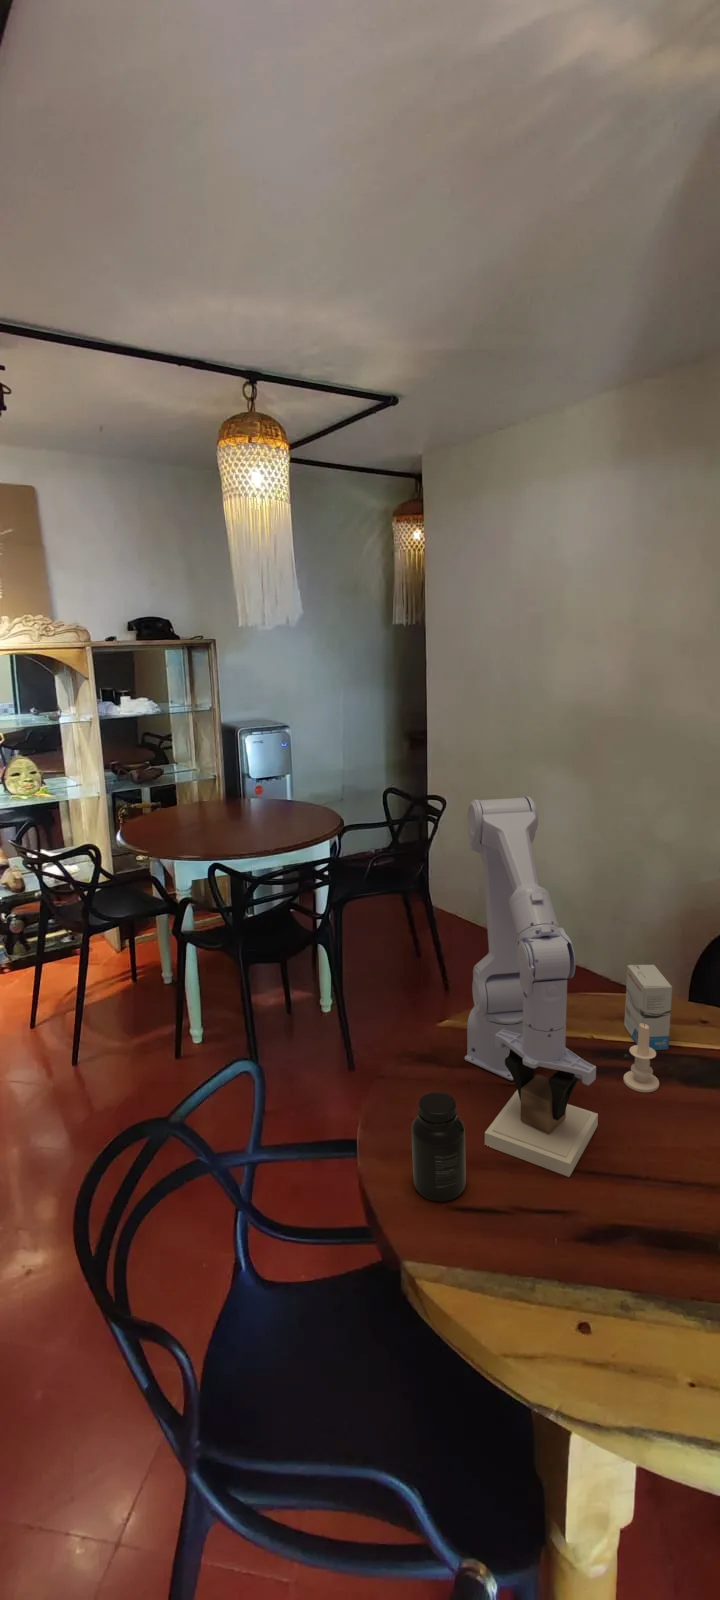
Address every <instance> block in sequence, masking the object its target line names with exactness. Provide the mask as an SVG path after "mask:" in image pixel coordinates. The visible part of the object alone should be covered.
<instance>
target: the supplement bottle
mask: <svg viewBox="0 0 720 1600" xmlns="http://www.w3.org/2000/svg"><path fill="white" fill-rule="evenodd" d="M417 1110H418V1111H417V1116H416V1117H415V1118H414V1119H413V1122H412V1123H411V1150H412V1152H411V1153H412V1154H411V1157H412V1176H413V1185H414V1188H415V1190H416V1191H417V1192H418V1194H420V1195H421V1196H422V1197H424V1198H425V1199H426V1200H427V1199H428V1200H430V1201H434V1202H448V1201H451V1200H453V1199H456V1198H457V1197H459V1196H460V1195H461V1194H462V1192H463V1191H464V1190H465V1188H466V1184H467V1183H466V1181H467V1178H466V1177H467V1171H466V1170H467V1169H466V1129H465V1126H464V1125H465V1124H464V1122H463V1120H462V1119H461V1118H460V1117H459V1116H458V1110H457V1101H456V1100H455V1098H454V1097H453V1096H451V1095H450V1094H448V1093H445V1092H441V1091H434V1092H433V1091H432V1092H428V1093H425V1094H424V1095H423V1096H421V1097H420V1098H419V1100H418V1109H417Z"/></svg>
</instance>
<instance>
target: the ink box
mask: <svg viewBox="0 0 720 1600" xmlns="http://www.w3.org/2000/svg"><path fill="white" fill-rule="evenodd" d="M626 970H627V971H626V986H625V987H626V988H625V1005H624V1006H625V1007H624V1027H625V1029H626V1030H627V1032H628V1033H629V1035H630V1036H631V1038H632V1039H633V1041H634V1043H635V1044H636V1045H638V1033H639V1024H640V1023H643V1024H644V1022H645V1024H646V1025H648V1026H649V1047H650V1048H652V1049H654V1050H655V1051H663V1050H664V1051H665V1050H669V1048H670V1047H669V1046H670V1044H669V1043H670V1030H671V1029H670V1028H671V1013H672V1012H671V1011H672V1009H671V1008H672V997H673V995H672V994H673V986H672V985H671V984H670V982H669V981H668V979H666V977H665V976H664V975H663V973H662V972H661V971H660V970H659V968H657V967H656V965H655V964H628V965H627V969H626Z"/></svg>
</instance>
